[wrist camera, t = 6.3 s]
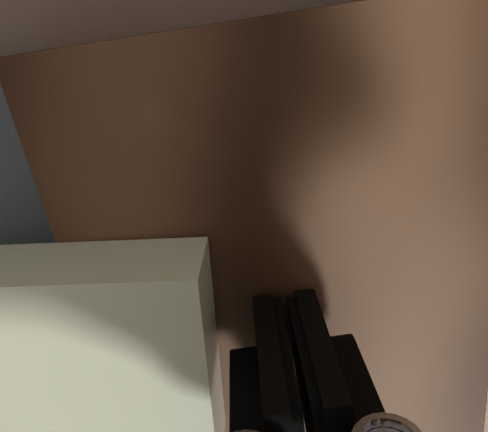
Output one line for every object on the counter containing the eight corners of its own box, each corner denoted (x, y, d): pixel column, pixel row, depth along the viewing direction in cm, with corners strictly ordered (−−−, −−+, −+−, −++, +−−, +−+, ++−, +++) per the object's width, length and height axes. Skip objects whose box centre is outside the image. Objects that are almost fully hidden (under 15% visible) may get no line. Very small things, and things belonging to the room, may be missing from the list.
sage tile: (207, 236, 10) (197, 280, 8) (225, 420, 13) (220, 486, 11) (-151, 250, 11) (-236, 295, 9) (-71, 426, 13) (-124, 491, 11)
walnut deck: (464, -12, 11) (528, -25, 9) (442, 440, 17) (476, 504, 15) (41, 54, 11) (-8, 57, 9) (168, 475, 17) (158, 543, 15)
